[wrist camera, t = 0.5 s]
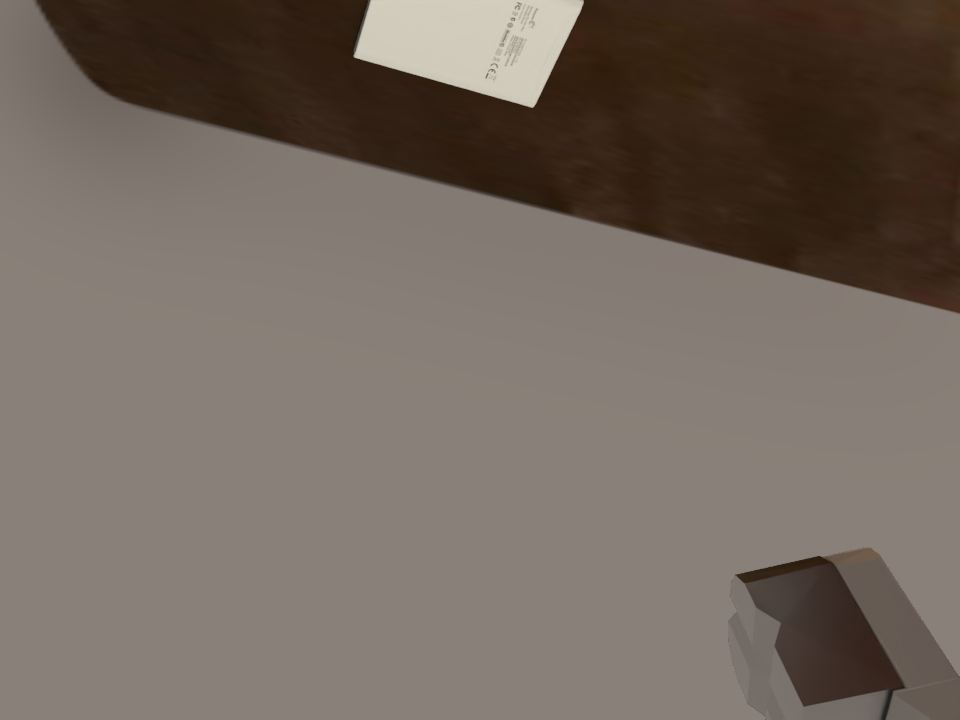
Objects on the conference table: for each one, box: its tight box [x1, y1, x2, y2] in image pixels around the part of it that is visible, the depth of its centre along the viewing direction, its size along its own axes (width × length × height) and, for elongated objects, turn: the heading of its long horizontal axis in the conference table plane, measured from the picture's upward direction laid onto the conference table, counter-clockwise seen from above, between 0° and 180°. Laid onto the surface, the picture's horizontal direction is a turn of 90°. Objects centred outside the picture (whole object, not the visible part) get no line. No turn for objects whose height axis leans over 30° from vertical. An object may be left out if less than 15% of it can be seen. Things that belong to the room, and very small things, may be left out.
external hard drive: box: [354, 0, 584, 108], centre depth 57 cm, size 2×8×12 cm
